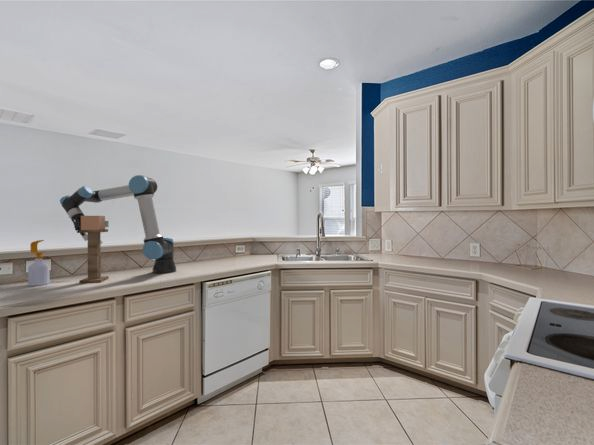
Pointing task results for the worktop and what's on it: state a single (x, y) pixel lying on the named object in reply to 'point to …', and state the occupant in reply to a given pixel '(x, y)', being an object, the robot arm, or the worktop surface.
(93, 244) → the tall stand
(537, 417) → the worktop surface
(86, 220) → the handled block
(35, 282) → the soap bottle
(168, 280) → the worktop surface
